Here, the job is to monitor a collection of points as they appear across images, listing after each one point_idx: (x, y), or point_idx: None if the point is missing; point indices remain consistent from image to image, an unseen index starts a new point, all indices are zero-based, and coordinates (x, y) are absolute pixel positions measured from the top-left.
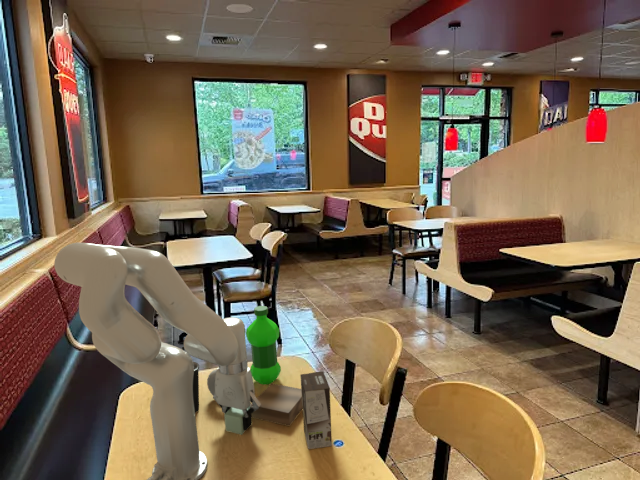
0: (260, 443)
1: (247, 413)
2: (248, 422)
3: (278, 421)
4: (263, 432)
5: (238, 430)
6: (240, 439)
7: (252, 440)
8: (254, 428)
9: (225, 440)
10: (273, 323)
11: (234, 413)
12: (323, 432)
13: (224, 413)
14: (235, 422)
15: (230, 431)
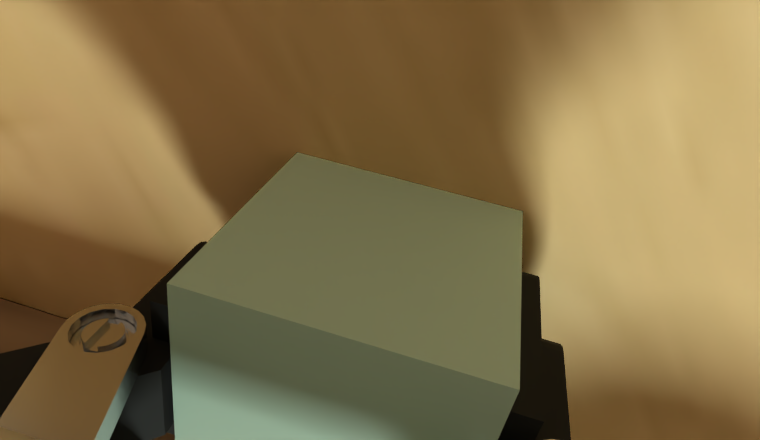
0: (21, 21)
1: (48, 361)
2: (174, 270)
3: (39, 330)
4: (102, 201)
5: (317, 181)
6: (267, 63)
7: (128, 62)
8: None
9: (456, 15)
10: None
11: (331, 397)
12: None
13: (543, 421)
14: (313, 249)
15: (453, 196)
